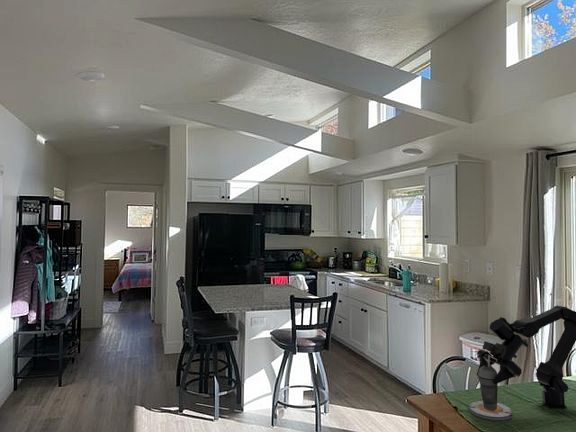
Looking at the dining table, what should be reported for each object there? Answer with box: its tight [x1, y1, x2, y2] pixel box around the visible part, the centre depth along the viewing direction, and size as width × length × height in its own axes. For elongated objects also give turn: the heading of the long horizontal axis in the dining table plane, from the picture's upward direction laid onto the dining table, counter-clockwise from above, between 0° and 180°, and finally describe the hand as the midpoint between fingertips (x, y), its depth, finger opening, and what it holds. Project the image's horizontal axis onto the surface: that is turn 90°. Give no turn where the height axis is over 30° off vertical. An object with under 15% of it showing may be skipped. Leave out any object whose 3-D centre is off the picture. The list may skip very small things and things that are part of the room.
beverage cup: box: [477, 355, 499, 410], centre depth 160 cm, size 7×7×20 cm
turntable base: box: [468, 405, 514, 422], centre depth 159 cm, size 15×15×1 cm
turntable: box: [469, 400, 512, 418], centre depth 159 cm, size 14×14×1 cm
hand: (485, 379), depth 160 cm, fingers open, 9 cm apart
